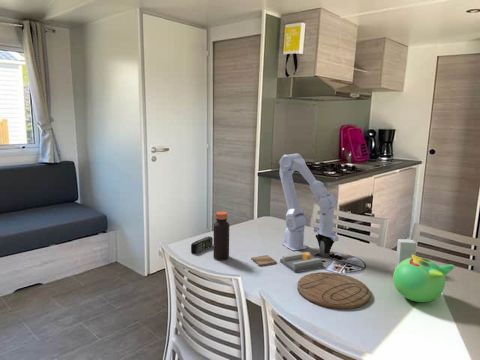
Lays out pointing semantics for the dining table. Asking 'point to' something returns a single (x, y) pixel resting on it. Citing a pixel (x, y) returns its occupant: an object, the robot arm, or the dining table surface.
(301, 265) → the box
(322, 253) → the brushed metal block
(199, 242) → the mobile phone
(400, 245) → the skincare box
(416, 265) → the toy bird
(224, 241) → the bottle
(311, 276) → the trivet
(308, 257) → the breaker switch
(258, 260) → the cork coaster
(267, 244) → the dining table surface
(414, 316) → the dining table surface
